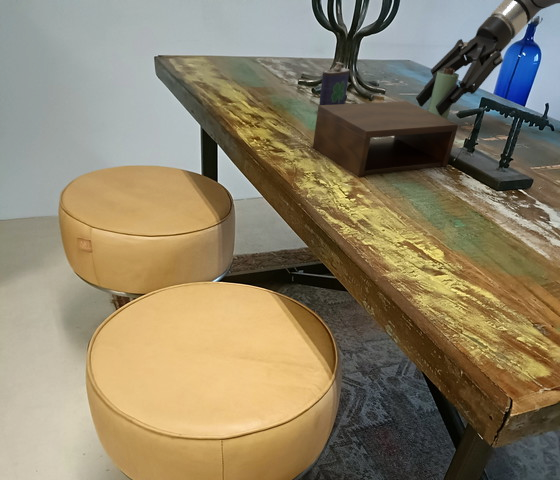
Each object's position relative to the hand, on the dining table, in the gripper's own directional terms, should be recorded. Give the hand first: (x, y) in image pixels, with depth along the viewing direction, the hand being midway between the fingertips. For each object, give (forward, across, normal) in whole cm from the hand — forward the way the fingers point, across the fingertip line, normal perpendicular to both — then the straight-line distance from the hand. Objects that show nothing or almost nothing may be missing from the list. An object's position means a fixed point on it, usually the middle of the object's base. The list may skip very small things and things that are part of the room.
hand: (428, 106), depth 134 cm
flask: (+16, +13, +10) cm, 23 cm away
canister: (0, 0, -5) cm, 5 cm away
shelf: (+21, -17, +16) cm, 32 cm away
